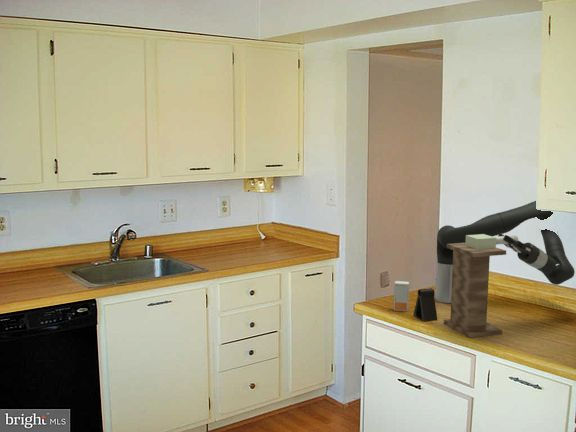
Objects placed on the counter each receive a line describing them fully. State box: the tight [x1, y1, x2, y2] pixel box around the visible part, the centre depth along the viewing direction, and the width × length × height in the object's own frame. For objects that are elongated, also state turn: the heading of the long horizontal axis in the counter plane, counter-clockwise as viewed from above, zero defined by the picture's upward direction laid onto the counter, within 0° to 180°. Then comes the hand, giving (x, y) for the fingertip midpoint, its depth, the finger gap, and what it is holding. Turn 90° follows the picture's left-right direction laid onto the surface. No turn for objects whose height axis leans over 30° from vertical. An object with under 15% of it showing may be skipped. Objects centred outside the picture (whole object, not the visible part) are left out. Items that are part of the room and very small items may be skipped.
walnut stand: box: [443, 243, 507, 338], centre depth 262 cm, size 18×14×32 cm
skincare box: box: [392, 280, 410, 313], centre depth 288 cm, size 6×4×12 cm
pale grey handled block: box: [465, 234, 519, 250], centre depth 262 cm, size 8×20×4 cm, turn 110°
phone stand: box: [413, 288, 438, 322], centre depth 277 cm, size 9×6×12 cm, turn 17°
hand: (501, 236), depth 263 cm, fingers closed on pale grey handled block, 3 cm apart
